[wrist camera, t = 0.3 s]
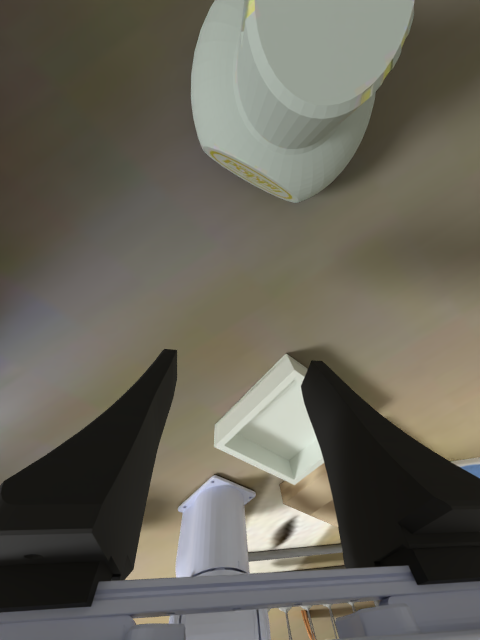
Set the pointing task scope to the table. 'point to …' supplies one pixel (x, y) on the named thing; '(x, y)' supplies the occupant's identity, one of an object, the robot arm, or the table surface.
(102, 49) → the table surface
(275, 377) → the tray
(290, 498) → the pin plate
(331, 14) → the air freshener
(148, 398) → the robot arm
